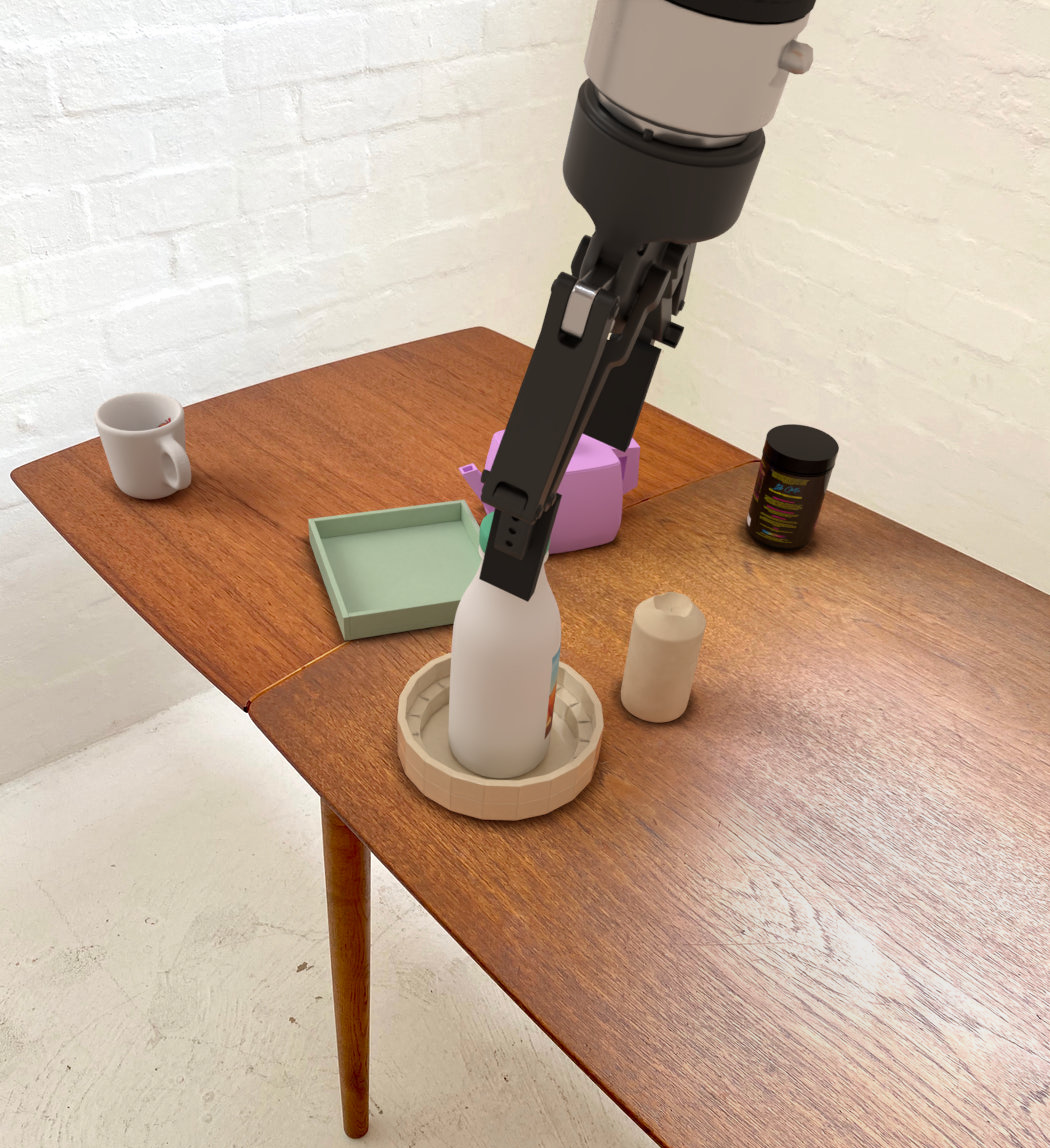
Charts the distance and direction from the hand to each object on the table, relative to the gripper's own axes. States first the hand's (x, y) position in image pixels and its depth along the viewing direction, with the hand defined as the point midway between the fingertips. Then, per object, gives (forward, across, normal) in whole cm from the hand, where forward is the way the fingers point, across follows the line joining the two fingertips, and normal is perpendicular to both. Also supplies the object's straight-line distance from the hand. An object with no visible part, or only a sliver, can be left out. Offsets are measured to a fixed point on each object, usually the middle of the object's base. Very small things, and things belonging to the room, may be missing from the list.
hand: (559, 508), depth 59 cm
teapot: (+34, +35, +8) cm, 50 cm away
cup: (+39, +22, +43) cm, 62 cm away
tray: (+34, +21, +16) cm, 43 cm away
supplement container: (+32, +44, -12) cm, 56 cm away
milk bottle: (+29, +5, 0) cm, 30 cm away
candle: (+29, +16, -9) cm, 34 cm away
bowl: (+29, +5, 0) cm, 30 cm away
